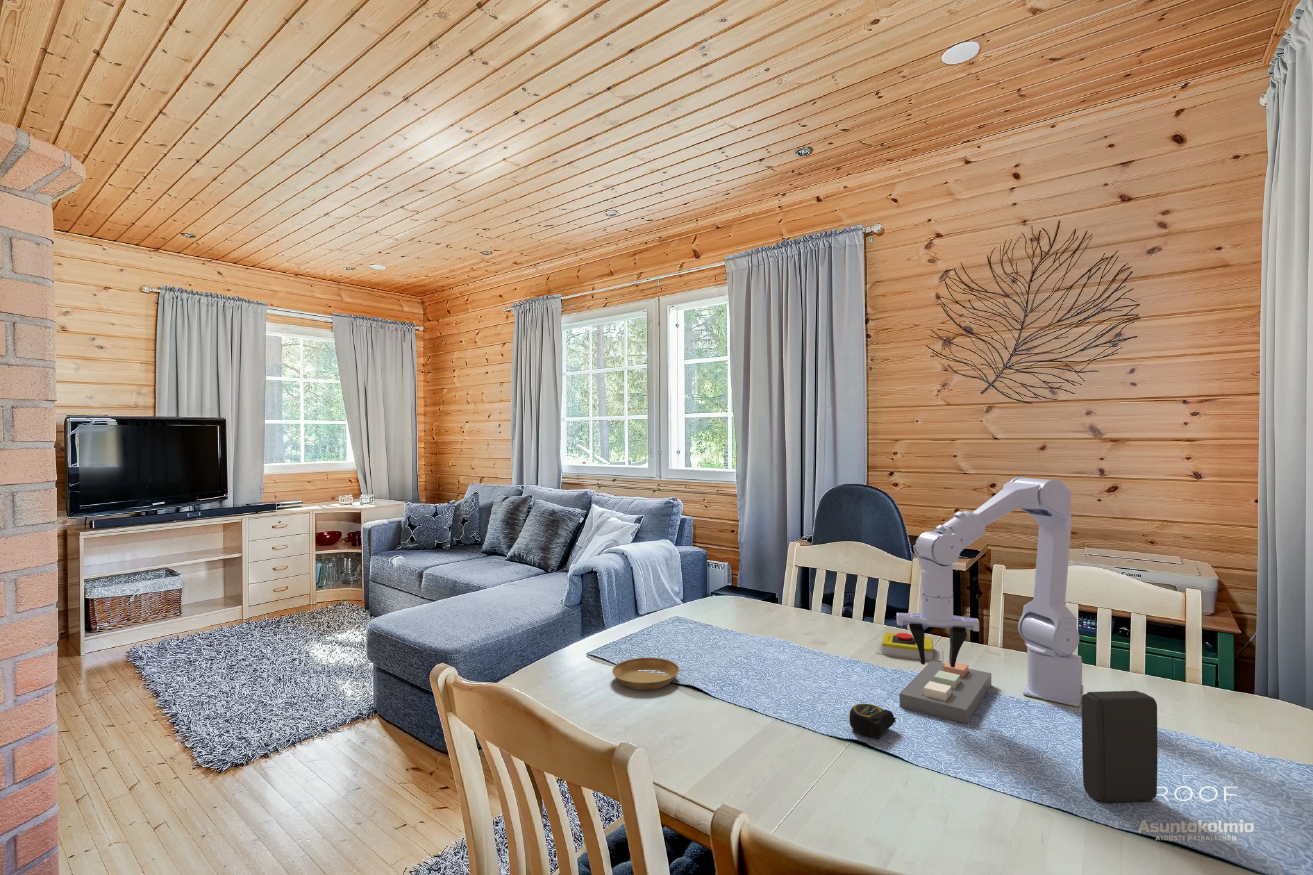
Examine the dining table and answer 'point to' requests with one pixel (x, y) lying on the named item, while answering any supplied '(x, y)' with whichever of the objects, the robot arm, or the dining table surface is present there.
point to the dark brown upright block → (1119, 745)
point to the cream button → (937, 691)
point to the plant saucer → (645, 673)
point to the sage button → (947, 679)
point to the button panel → (961, 698)
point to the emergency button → (907, 647)
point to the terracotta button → (956, 669)
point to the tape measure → (870, 719)
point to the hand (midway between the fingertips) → (937, 664)
